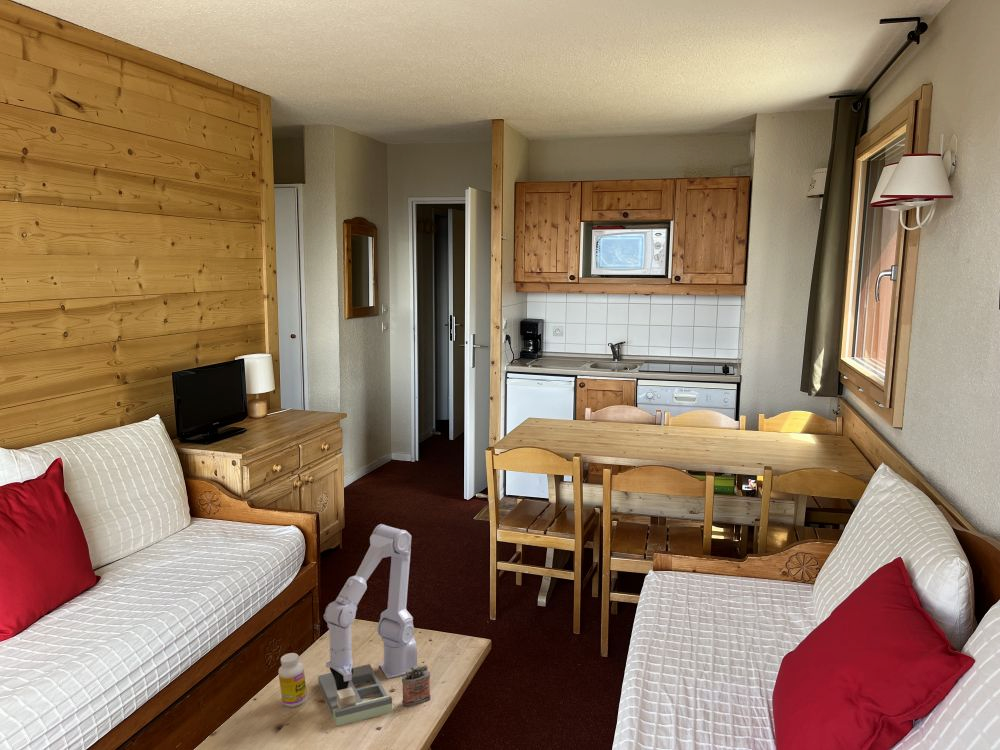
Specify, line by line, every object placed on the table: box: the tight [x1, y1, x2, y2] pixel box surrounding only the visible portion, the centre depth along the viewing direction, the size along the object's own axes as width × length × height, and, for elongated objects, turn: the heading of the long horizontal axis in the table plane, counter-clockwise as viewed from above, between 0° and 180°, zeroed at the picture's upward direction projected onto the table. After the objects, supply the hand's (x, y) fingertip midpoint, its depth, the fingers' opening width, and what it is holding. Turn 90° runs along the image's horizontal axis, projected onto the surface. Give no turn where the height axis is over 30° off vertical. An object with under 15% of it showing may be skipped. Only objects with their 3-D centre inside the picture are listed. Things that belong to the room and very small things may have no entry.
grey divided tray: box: [317, 663, 393, 727], centre depth 209 cm, size 15×22×4 cm
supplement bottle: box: [277, 652, 308, 708], centre depth 206 cm, size 7×7×13 cm
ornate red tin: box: [401, 664, 432, 708], centre depth 206 cm, size 8×3×10 cm, turn 117°
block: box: [337, 687, 356, 709], centre depth 200 cm, size 4×4×4 cm
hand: (342, 692), depth 205 cm, fingers closed
